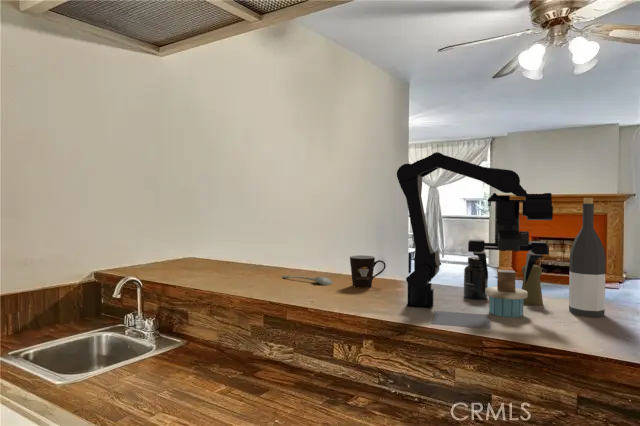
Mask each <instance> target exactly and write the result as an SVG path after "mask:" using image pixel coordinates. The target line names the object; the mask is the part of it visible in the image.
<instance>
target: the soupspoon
mask: <svg viewBox="0 0 640 426" xmlns="http://www.w3.org/2000/svg"><path fill="white" fill-rule="evenodd" d="M281 278H286V279H291V278H293V279H305V280H308V281H309V280H310V281H313V282H315V283H318V284H320V285H322V286H330V285H329V284H332V283H333V284H334V282H333V281H332V280H331V279H330V278H327V277H325V276H317V277H315V278H313V277H308V276H307V277H304V276H290V275H283V274H282V276H281ZM333 284H332V285H333Z"/></svg>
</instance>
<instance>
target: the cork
mask: <svg viewBox="0 0 640 426" xmlns="http://www.w3.org/2000/svg"><path fill="white" fill-rule="evenodd" d="M525 267H526V264H524V265H523V266H522V268H521V274H522V275H523V280H522V286H521V289H523V290H525V291H527V292H528V295H527V298H525V299H524V304H523V305H526V306H533V305H539V306H543V305H544V303H543V302H544V301H543V300H544V299H543V293H542V285H541V276H542V275H543V270H542V267H541V266H539V265H537V264H534V265H533V267H532V269H531V272H530V275H529V277H528V280H527V282H525Z"/></svg>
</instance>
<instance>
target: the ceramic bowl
mask: <svg viewBox="0 0 640 426" xmlns="http://www.w3.org/2000/svg"><path fill="white" fill-rule="evenodd" d="M524 305H525V304H524V299H500V298H494V297H490V296H488V312H489V314H492V315H494V316H498V317H503V318H519V317H520V318H521V317H523V316H524Z"/></svg>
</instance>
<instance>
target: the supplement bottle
mask: <svg viewBox="0 0 640 426" xmlns="http://www.w3.org/2000/svg"><path fill="white" fill-rule="evenodd" d="M467 264H468V265H466V266H465V267H464V270H463V296H464V298H467V299H471V300H486V299H487V297H488V296H487V295H486V294H485V289H486V288H488V285H489V284H488V283H489V279H488V280H487V279H486V277H485V273H484V270H483V267H482V264H481V262H480V259H479V257H478V256H469V257H467Z"/></svg>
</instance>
